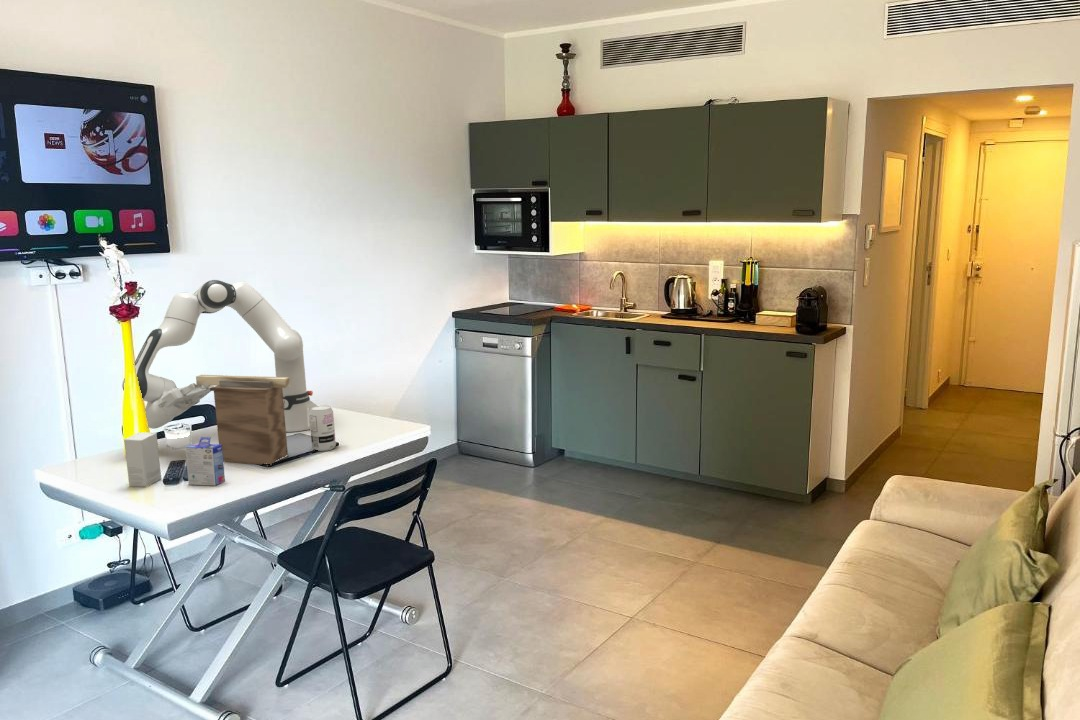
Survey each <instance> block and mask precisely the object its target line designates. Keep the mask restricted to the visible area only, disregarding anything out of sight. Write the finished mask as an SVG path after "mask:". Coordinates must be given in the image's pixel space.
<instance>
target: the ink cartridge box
mask: <svg viewBox="0 0 1080 720" xmlns="http://www.w3.org/2000/svg"><path fill="white" fill-rule="evenodd" d="M211 438H212V437H209V436H207V437H206V436H201V437H200V438H199V442H198V443H194V444H191V445H188V446H186V447H185V457H186V468H187V469H186V470H187V479H188V480H187V482H188V485H191V486H193V485H197V486H217V485H219V484H221V483H224V482H226V476H225V467H224V462H223V453H222V444H219V443H211ZM203 440H204V441H203ZM205 440H206V441H205Z"/></svg>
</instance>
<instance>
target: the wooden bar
mask: <svg viewBox="0 0 1080 720" xmlns="http://www.w3.org/2000/svg"><path fill="white" fill-rule="evenodd" d="M195 380H196V381H195V382H196V383H197V385H213V386H214V387H215V386H220V384H219V381H220V380H227V381H259V382H272V387H274V388H286V387H289V386H290V378H289V377H276V376H260V375H258V376H256V375H229V374H228V375H227V374H225V375H223V374H221V375H220V374H218V375H217V374H200V375H196V376H195ZM196 383H195V384H196Z"/></svg>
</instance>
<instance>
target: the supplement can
mask: <svg viewBox="0 0 1080 720" xmlns="http://www.w3.org/2000/svg"><path fill="white" fill-rule="evenodd" d="M309 416H310V428H311V429H310V439H311V448H312V450H314V449H316V450H318V451H317V452H327V451H331V450H333V449H334V448H336V445H337V442H336V432H335V430H336V429H335V417H334V410H333V408H332V406H331V405H317V406H316V407H312V408H311V410H310V413H309Z"/></svg>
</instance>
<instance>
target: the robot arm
mask: <svg viewBox="0 0 1080 720" xmlns="http://www.w3.org/2000/svg"><path fill="white" fill-rule="evenodd" d="M225 307H227V308H228V307H229V308H231V309H233V310H234V311H236V312H237V314H238V315H239V316H240V317H241V318H242V319H243V320H244V322H246V323H247V325H248V326H249V327H251V329H253V331H254V332H255V333H256V334H257V335H258V336H259V338H261V340H262V341H263V342H264V343H265V344H266V345H267V346H268V348H269V350H270V351H272V352H273V355H274V368H275V377H289V378H290V386H289V387H286V388H282V391H283V403H284V415H285V427H286V433H288V432H290V433H291V432H301V431H306V430H307V431H308V430H311V428H310V416H309V413H310V410H311V408H312V407H316V406H318V405H317V404H316V403H314V402H313V401H312V400H311V398H310V397H311V396H313V395H314V392H313V390H307V384H306V383H307V382H306V381H307V380H306V369H305V361H304V360H305V359H304V358H305V357H304V343H303V342H304V341H303V338H302V336H301V334H300V333H299V332H298V331H297V330H296V329H293V328H291V326H290V325H289V324H288V323H287V322H286V320H285V319H283V317H282V316H281V315H280V314H279V312H278V311H277V310H276V309H275V308H274V307H273V306H272V305H271V303H269V302H268V300H266V298H264V297H263V296H262V294H261V293H260V292H258V290H256V289H255V288H254V287H252V286H251V285H250V284H249V283H248V282H245V281H243V280H242V281H236V282H234V283H233V284H231V283H227V282H226V281H223V280H222V281H221V280H219V279H212V280H208V281H206V282H205V283H203V284H202V285H200V286H199V287H198V289H197V290H195V292H194V293H189V292H177V293H176V294H174V296H173V297H172V299H171V301H170V302H169V305H168V308H167V310H166V312H165V316H164V317H163V321H162V323H161V324H160V325H159V326H158V328H155V329H153V330H151V332H150V333H149V334H148V335H147V337H146V339H145V341H144V343H143V345H142V346H141V349H140V350H139V353H138V354H137V357H136V358H135V361H134V363H135V368H136V374H137V377H138V381H139V386H140V390H141V393H142V398H143V400H142V401H144V402H146V406H145V408H144V409H145V411H146V418H147V421H148V427H149V429H151V430H152V429H153V430H155V429H159V428H161V427H164V426H165V425H167V424H168V423H169V422H171V421H173V419H174V418H175V417H178V416H180V415H182V414H183V413H184V412H186V411H187V410H188V409H190V408H191V407H194V406H195V405H197V404H200V401H201V400H202V399H203V398H205V397H206V396H207V395H208V394H210V393H211V392H212V391H210V388H211V387H215V385H197V383H191V384H189V385H187V386H184V387H179V388H178V387H177V385H176V383H175V382H174V380H171V379H169V378H165V377H162V376H159V375H154V374H151V373H149V371H150V369H151V366H152V364H153V362H154V360H155V359H156V356H157V354H158V353H159V351H160V350H162V349H164V348H168V347H178V346H182V345H184V344H187V343H188V342H190V341H191V340H192V338H193V336H194V334H195V331H196V327H197V323H198V320H199V318H200V315H201V314H214V313H217V312H219V311H222V310H223V309H224V308H225ZM124 383H125V378H124V379H123V381H122V385H121V386H122V390H123V391H124ZM148 427H147V428H148Z"/></svg>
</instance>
